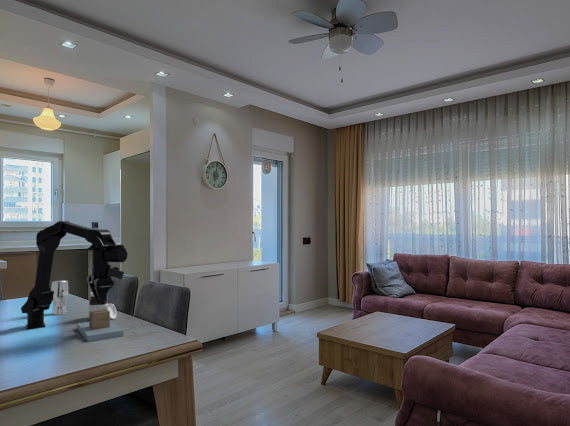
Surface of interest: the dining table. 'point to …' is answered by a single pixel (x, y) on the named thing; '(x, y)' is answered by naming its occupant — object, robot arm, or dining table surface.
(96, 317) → the walnut cube
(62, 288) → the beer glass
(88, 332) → the slate board
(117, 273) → the robot arm
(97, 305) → the spread jar
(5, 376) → the dining table surface
